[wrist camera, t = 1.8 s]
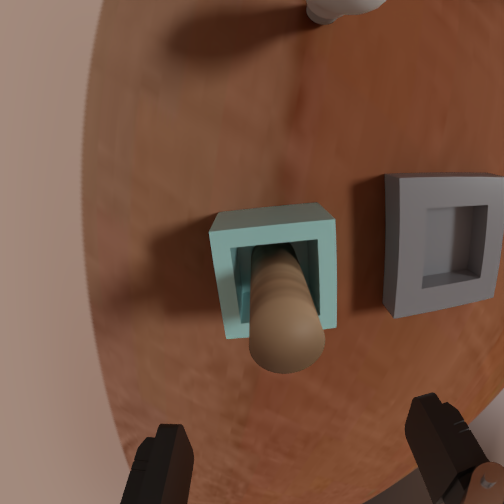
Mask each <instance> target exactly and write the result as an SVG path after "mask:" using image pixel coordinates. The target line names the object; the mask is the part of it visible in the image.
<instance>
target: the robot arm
mask: <svg viewBox="0 0 504 504" xmlns="http://www.w3.org/2000/svg"><path fill="white" fill-rule="evenodd" d="M405 435H406V439H407V441H408V444H409V446H410V448H411V451H412V453H413V455H414V458H415V460H416V463H417V465H418V467H419V470H420V472H421V475H422V477H423V480H424V482H425V484H426V487H427V489H428V492H429V495H430V497H431V500H432V502H433V504H441V503H443V502H444V503H445V504H504V467H503V466H502V465H500V464H498V463H496V462H490V461H489V460H488V459H487V457H486V456H485V454H484V452H483V450H482V449H481V447H480V445H479V444H478V442H477V440H476V439H475V437H474V435H473V434H472V432H471V430H469V427H468V425H467V424H466V422H464V419H463V417H462V416H461V414H460V412H459V411H458V410H457V409H456V408H455V407H453V406H452V405H451V404H449V403H448V402H446V403H443V404H442V403H441V401H440V400H439V398H438V397H437V395H436V394H435V393H429V394H425V395H422V396H418V397H415V398H413V400H412V403H411V407H410V410H409V413H408V417H407V420H406V423H405ZM134 460H135V461H134V462H133V465H132V468H131V469H132V470H131V471H130V474H129V477H128V481H127V484H126V487H125V490H124V493H123V497H122V500H121V503H120V504H187V502H188V495H189V489H190V483H191V477H192V471H193V464H194V454H193V449H192V447H191V444H190V442H189V439H188V437H187V434H186V432H185V429H184V427H183V425H181V424H160V425H159V427H158V430H157V433H156V437H155V438H153V437H147V438H146V439H145V440H144V441H143V442H142V443H141V445H140V446H139V447H138V449H137V452H136V455H135V458H134Z"/></svg>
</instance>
